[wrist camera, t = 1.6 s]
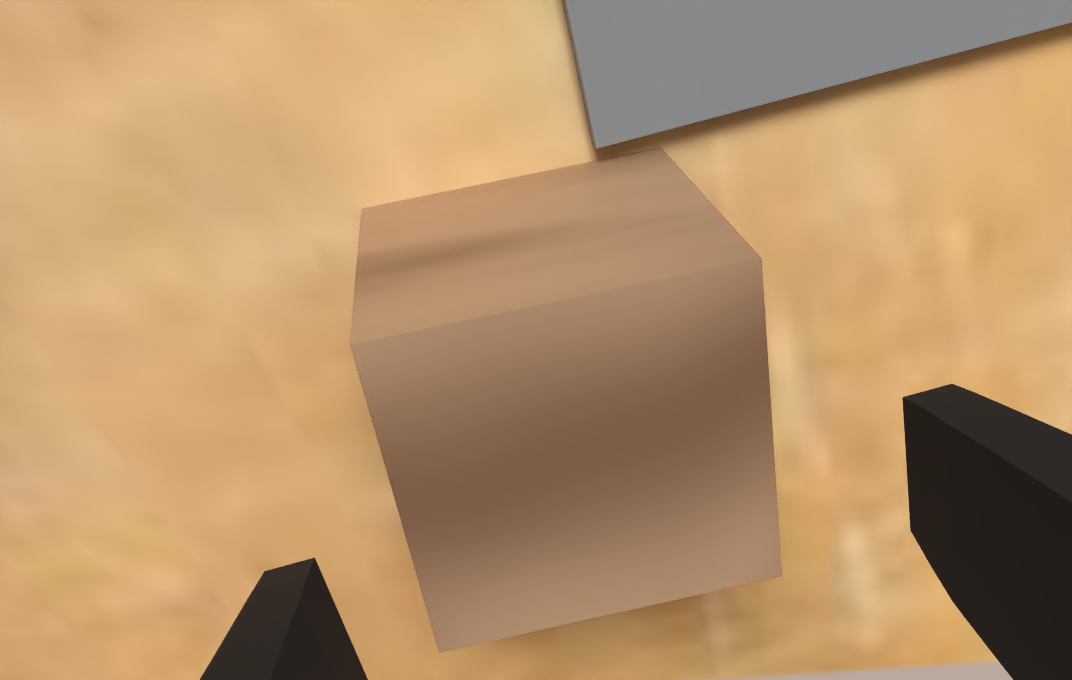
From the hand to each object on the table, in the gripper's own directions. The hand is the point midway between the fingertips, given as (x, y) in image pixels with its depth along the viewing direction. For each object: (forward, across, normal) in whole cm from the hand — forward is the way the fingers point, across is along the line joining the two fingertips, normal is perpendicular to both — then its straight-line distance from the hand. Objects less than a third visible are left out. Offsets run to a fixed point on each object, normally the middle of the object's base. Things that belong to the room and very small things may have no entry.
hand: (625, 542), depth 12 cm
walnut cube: (+8, 0, +1) cm, 8 cm away
